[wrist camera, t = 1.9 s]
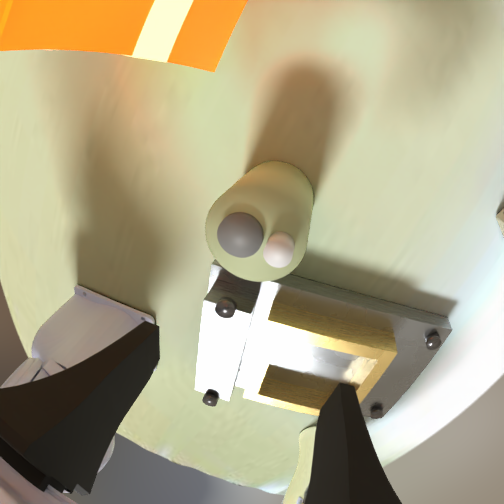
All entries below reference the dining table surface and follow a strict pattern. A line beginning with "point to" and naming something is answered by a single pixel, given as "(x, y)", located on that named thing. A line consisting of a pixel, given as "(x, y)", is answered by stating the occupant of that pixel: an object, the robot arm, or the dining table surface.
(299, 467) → the beer glass
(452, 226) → the dining table surface
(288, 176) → the spout can
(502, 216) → the skincare box
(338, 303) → the grey metal fixture plate
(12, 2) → the orange juice
